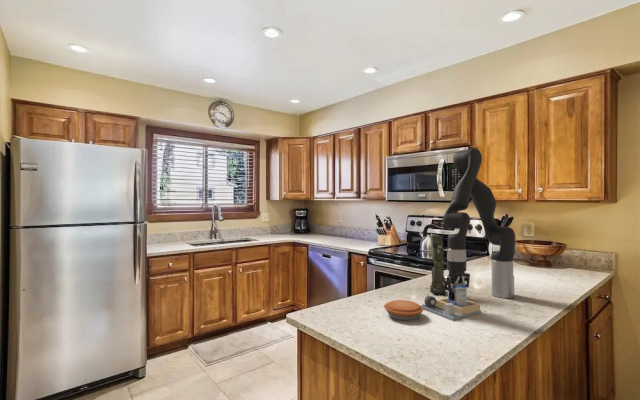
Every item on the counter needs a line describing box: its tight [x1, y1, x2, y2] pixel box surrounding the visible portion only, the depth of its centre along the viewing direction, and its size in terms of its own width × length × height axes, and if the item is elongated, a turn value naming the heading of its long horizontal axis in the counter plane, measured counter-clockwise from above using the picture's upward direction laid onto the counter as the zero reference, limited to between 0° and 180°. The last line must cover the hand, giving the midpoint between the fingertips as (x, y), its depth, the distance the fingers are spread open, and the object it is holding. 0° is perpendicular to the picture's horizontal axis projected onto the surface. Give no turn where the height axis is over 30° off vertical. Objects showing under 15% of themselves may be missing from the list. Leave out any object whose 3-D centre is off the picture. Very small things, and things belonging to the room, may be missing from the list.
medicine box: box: [447, 283, 468, 306], centre depth 138 cm, size 8×4×9 cm, turn 6°
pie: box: [383, 299, 424, 322], centre depth 133 cm, size 15×16×5 cm
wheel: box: [423, 295, 437, 307], centre depth 140 cm, size 4×3×4 cm, turn 118°
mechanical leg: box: [429, 234, 446, 297], centre depth 166 cm, size 14×7×30 cm, turn 168°
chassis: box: [420, 296, 482, 322], centre depth 138 cm, size 17×17×5 cm
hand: (456, 299), depth 138 cm, fingers closed on medicine box, 5 cm apart
